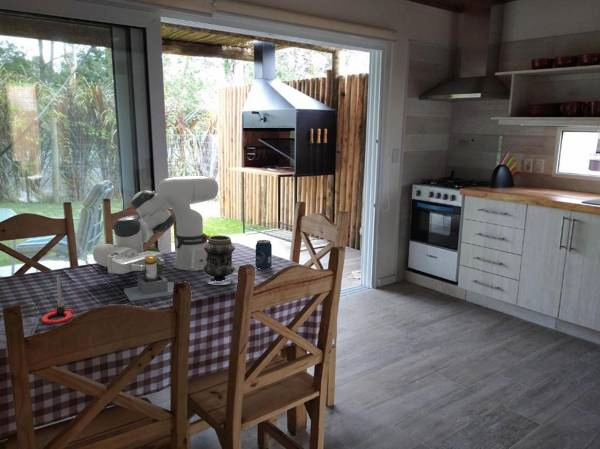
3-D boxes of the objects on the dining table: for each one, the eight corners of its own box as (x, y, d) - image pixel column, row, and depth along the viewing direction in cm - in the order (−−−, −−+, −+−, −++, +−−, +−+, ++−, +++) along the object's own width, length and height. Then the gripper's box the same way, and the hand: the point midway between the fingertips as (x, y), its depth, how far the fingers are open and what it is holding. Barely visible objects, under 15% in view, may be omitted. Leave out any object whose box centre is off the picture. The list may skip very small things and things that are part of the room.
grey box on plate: (173, 284, 186) (172, 271, 185) (181, 293, 176) (181, 279, 175) (124, 291, 177) (123, 278, 176) (130, 301, 168) (129, 286, 167)
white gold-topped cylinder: (156, 286, 179) (154, 255, 177) (159, 289, 176) (157, 257, 173) (145, 288, 177) (143, 256, 175) (148, 291, 174) (145, 259, 171)
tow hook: (66, 325, 148) (76, 312, 156) (63, 285, 144) (73, 274, 153) (37, 326, 146) (48, 313, 155) (33, 285, 143) (44, 275, 152)
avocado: (166, 276, 196) (165, 247, 193) (148, 280, 191) (147, 250, 188) (157, 272, 202) (157, 244, 199) (139, 275, 196) (138, 246, 194)
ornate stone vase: (239, 284, 188) (240, 239, 185) (210, 288, 182) (209, 242, 179) (227, 276, 199) (227, 233, 195) (199, 280, 192) (198, 235, 189)
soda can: (252, 268, 210) (252, 241, 208) (262, 265, 216) (262, 238, 213) (264, 271, 206) (265, 244, 204) (274, 268, 212) (275, 241, 210)
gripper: (148, 261, 190) (174, 267, 184) (104, 274, 173) (131, 280, 166) (147, 245, 189) (174, 250, 182) (103, 256, 172) (130, 262, 165)
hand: (153, 265), depth 174 cm, fingers open, 8 cm apart
